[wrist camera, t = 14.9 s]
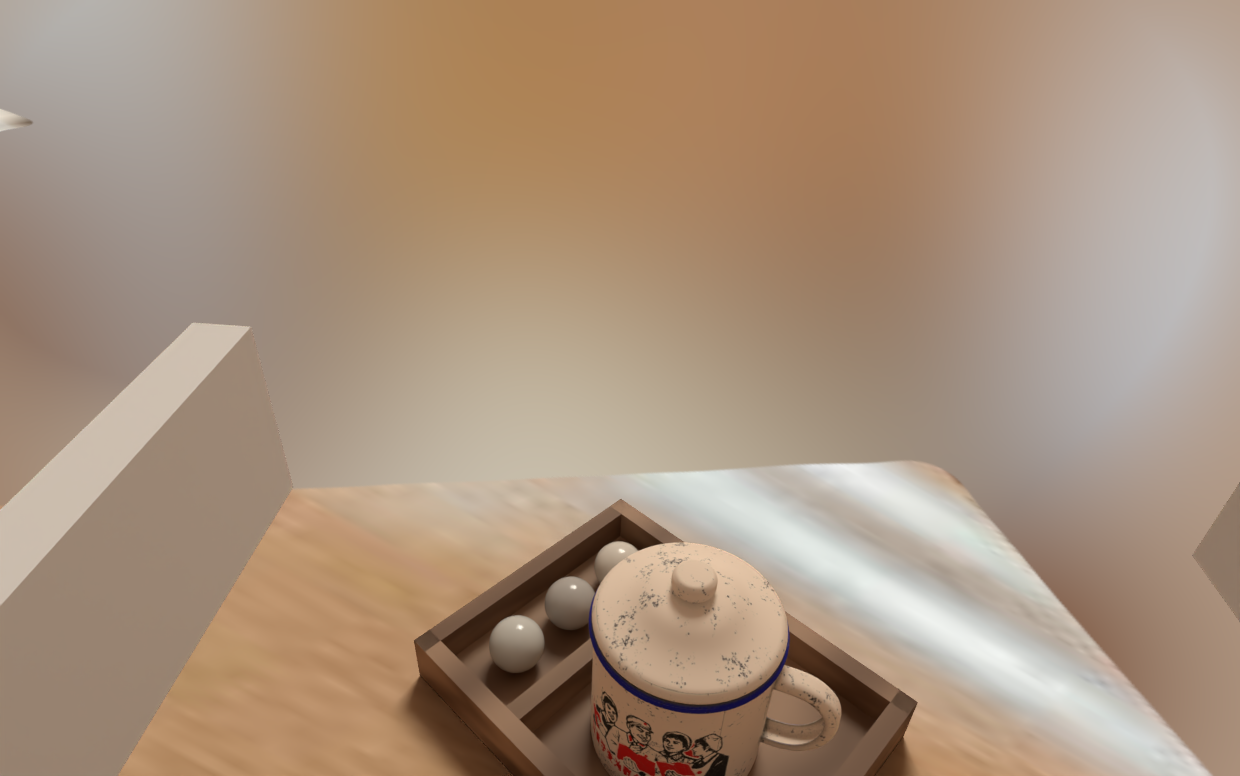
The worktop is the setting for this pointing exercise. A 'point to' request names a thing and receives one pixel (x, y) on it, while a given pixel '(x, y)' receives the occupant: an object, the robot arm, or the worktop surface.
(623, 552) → the pebble
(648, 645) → the teacup with lid
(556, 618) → the pebble
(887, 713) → the parts tray
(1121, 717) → the worktop surface
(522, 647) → the pebble
